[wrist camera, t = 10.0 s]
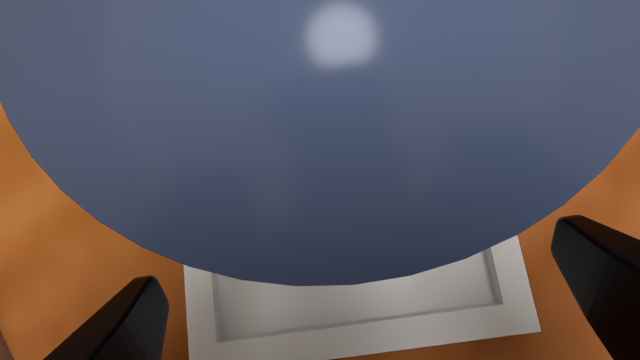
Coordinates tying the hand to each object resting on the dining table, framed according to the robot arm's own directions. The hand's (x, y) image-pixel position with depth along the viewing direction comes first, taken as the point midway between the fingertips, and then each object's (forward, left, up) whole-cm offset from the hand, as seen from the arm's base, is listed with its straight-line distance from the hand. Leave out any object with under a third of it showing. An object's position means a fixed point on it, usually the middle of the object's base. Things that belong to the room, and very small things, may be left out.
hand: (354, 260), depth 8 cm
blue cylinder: (0, +3, -7) cm, 8 cm away
